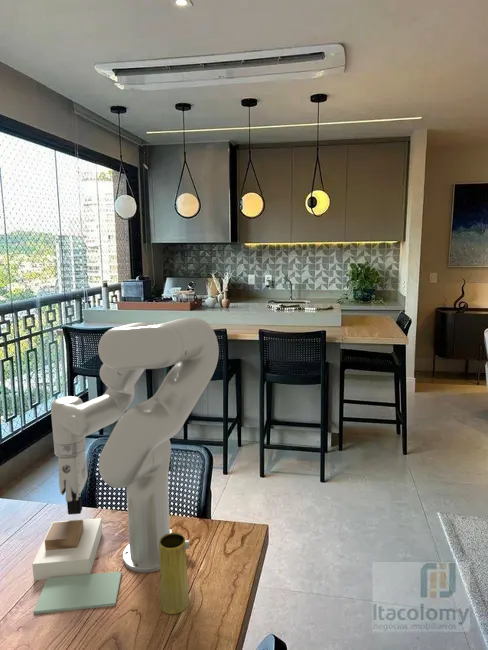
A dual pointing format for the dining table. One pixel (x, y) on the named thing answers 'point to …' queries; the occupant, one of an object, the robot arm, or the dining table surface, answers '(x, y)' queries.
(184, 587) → the vase
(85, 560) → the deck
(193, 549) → the dining table surface
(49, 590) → the mat
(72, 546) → the block
